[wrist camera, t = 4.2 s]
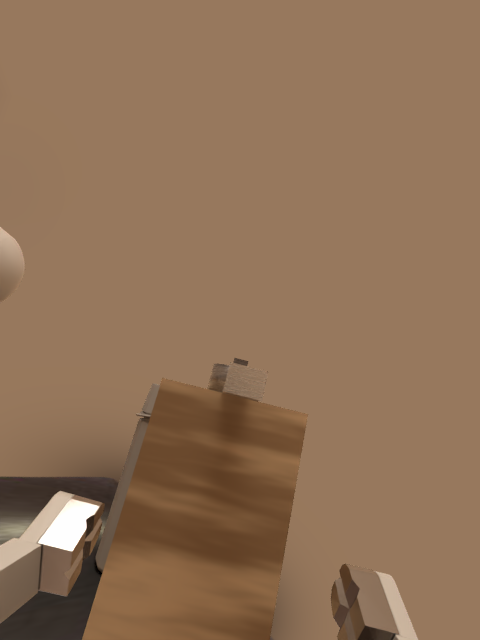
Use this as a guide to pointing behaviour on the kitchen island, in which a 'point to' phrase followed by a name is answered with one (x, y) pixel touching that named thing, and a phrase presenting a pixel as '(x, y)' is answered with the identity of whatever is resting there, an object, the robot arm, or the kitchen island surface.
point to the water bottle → (125, 479)
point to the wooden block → (202, 521)
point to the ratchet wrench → (238, 380)
